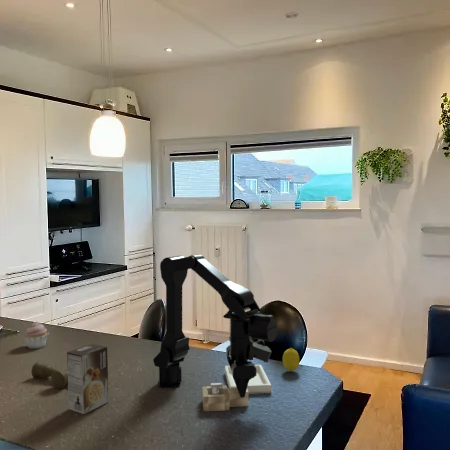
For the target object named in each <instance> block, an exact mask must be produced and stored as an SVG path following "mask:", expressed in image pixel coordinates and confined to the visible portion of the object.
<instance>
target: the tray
mask: <svg viewBox="0 0 450 450" xmlns="http://www.w3.org/2000/svg"><path fill="white" fill-rule="evenodd" d="M254 365H255V367H256V369H257V370H256V376H255V377H254V378H252V379H250V380H249V383H248V386H247V390H248V395H261V394H264V393H265V394H272V384H271V382H270V380H269V378H268V376H267V374H266V372H265V370H264V368H263V366H262V364H254ZM224 375H225V378H226V383H227V388H237V387H236V384H235V381H234V379H233V376H232V371H231V368H230V366H229V365H224ZM265 394H264V395H265Z"/></svg>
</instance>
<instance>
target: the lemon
mask: <svg viewBox="0 0 450 450" xmlns="http://www.w3.org/2000/svg"><path fill="white" fill-rule="evenodd" d="M299 364H300V355H299V353H298V351H297V350H295V349H294V348H292V347H290V348H288V349H286V350H285V351H284V352H283V355H282V365H283V367H284V368H285V370H286V369H287V370H288V372H290V373H292V372H293V371H295V370H296V369H297V368H299Z"/></svg>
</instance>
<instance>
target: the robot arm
mask: <svg viewBox="0 0 450 450" xmlns="http://www.w3.org/2000/svg"><path fill="white" fill-rule="evenodd" d="M190 269H191V270H192V271H193V272H194V273H196V274H197V275H198V277H200V278H201V279H202V280H203V281H205V282H206V284H208V285H209V286H210V287H211V288H212V289H214V290H215V291H216V293H218V294H219V296H220V299H221V301H222V303H223V304H224V306H225V307H226V308H227V309H228V311H227V312H226V313H225V314H223V318H224V319H228V320H229V337H228V341H229V345H228V346H226V348H225V355H226V359H227V362H228V366H230V368H231V371H232V376H233V379H234V381H235V384H236V387H237V389H238V392H239V395H240V397H245V394H246V390H247V386H248V383H249V380H250V379H252V378H254V377H255V376H256V370H257V369H256V367H255V365H256V364H255V363H253V360H254V359H257V360H260V361H262V362H264V363H266V364H267V363H269V359H270V358H271V354H272V350H271V348H269V347H268V346H267V345H266V344H265V342H274V341H275V340H276V338H277V336H278V331H279V327H278V325H277V321H276V320H274V319H275V317H274V315H272V314H262V313H263V312H262V310H261V308H260V306H259V305H258V303H257V302H256V300H255V296H254V293H253V292H252V291H251V290H250V289H249V288H246V287H245V286H243V285H241V284H239V283H236V282H233V281H232V280H230V279H229V278H228V277H226V276H225V275H224V274H223V273H222V272H221V271H220V270H218V269H217V268H216V267H215V266H214V265H213V264H212V263H210V262H209V261H208V260H207V259H206V258H205V256H204V255H202V254H200V253H199V254H191V255H189V256H186V257H185V256H183V255H174V256H169V257H165V258H162V260H161V261H160V265H159V270H160V277H161V279H162V281H163V283H164V285H165V334H164V335H163V338H162V340H161V343H160V349H159V353H157V355H156V356H155V357H154V358H153V364H154V367H156V368H157V367H158V388H168V387H171V388H173V387H180V386H181V383H182V382H183V381H182V366H180V363H181V362H184V361H185V358H186V356H187V355H188V353H189V350H190V343H189V342H190V337H189V336H185V334H184V331H183V285H184V283H185V280H186V278H187V276H188V270H190ZM246 310H247V311H246ZM252 339H255V340H257V341H253V340H252Z"/></svg>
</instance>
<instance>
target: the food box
mask: <svg viewBox="0 0 450 450" xmlns="http://www.w3.org/2000/svg"><path fill="white" fill-rule="evenodd" d="M66 354H67V355H66V357H67V360H66V361H67V370H68V382H67V390H68V392H67V393H68V395H67V396H68V410H70V411H73V412H76V413H78V414H82V415H85V414H88V413H89V412H91V411H93V410H95V409H97V408H100V407H101V406H103V405H106V404H108V403H109V366H108V365H109V364H108V363H109V361H108V346H106V345H105V346H104V345H101V344H95V343H90V344H86V345H84V346H81V347H78V348H75V349H72V350H69V351H67V352H66Z"/></svg>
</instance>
